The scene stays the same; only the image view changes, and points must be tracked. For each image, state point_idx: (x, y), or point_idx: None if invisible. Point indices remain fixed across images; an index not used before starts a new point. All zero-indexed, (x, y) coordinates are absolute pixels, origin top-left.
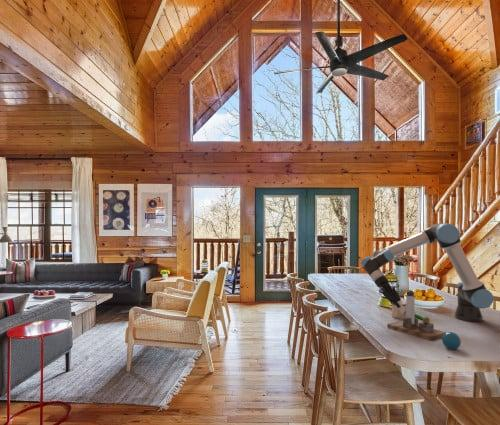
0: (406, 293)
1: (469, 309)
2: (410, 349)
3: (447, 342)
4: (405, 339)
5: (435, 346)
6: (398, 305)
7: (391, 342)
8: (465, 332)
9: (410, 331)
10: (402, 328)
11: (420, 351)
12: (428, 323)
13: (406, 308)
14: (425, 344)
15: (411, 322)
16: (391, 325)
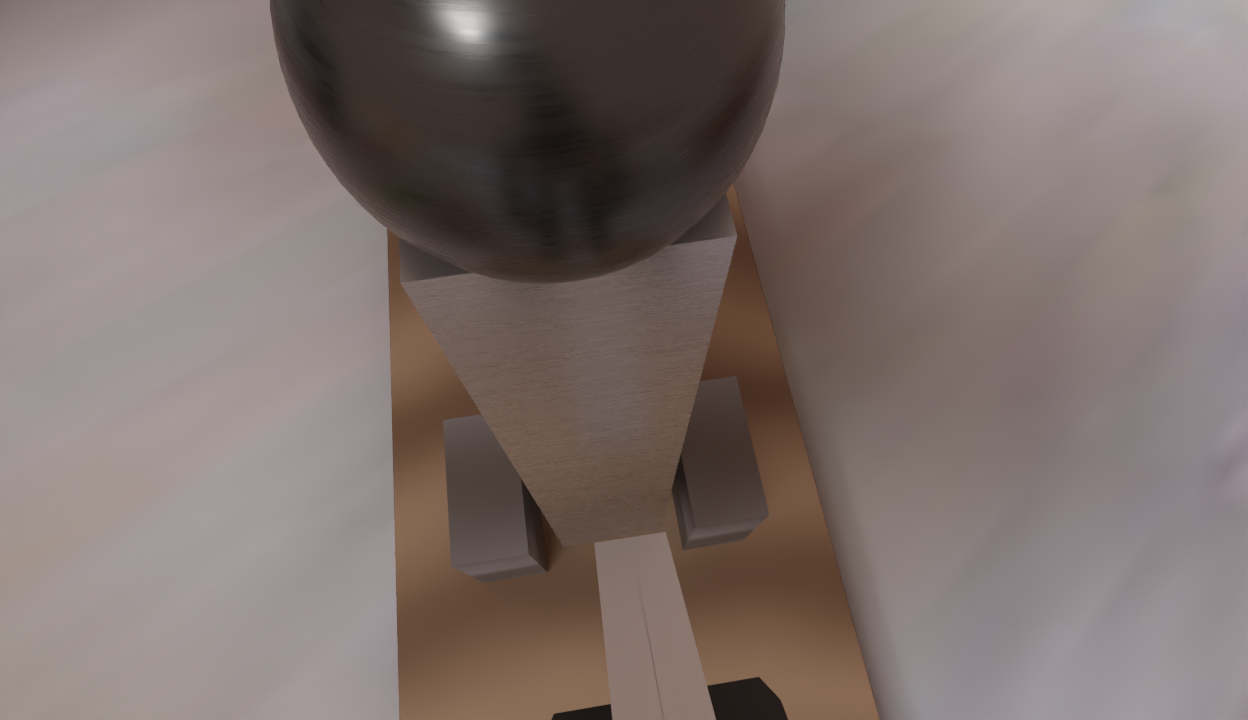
0: (729, 168)
1: None
2: (1127, 61)
3: None
4: (979, 264)
5: (816, 35)
6: (785, 716)
7: (1223, 252)
8: (51, 180)
9: (776, 357)
10: (813, 480)
11: (1061, 7)
12: None
13: (677, 456)
14: (870, 95)
15: None
16: (873, 706)
